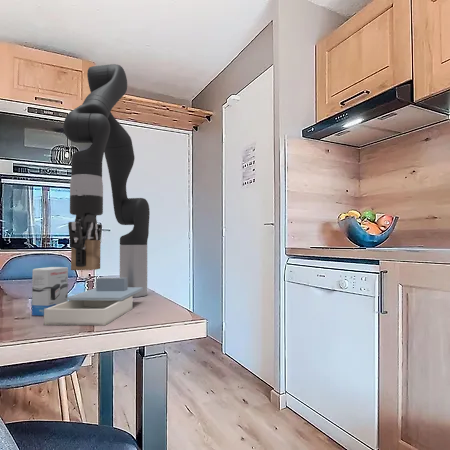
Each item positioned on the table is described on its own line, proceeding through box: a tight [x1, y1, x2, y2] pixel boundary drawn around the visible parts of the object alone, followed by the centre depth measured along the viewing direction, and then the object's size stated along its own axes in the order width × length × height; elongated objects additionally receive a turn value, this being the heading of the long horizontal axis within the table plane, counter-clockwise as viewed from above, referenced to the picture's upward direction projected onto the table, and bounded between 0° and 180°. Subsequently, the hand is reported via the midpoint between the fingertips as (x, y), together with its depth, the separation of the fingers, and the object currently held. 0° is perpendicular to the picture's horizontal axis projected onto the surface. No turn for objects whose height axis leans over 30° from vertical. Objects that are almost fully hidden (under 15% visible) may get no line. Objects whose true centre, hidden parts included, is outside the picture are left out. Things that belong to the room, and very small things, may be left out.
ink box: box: [31, 266, 69, 317], centre depth 98 cm, size 8×5×12 cm, turn 168°
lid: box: [67, 277, 143, 301], centre depth 104 cm, size 20×14×4 cm
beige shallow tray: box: [43, 296, 134, 326], centre depth 93 cm, size 20×14×4 cm
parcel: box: [70, 239, 102, 271], centre depth 90 cm, size 5×5×7 cm
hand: (85, 265), depth 90 cm, fingers closed on parcel, 5 cm apart
